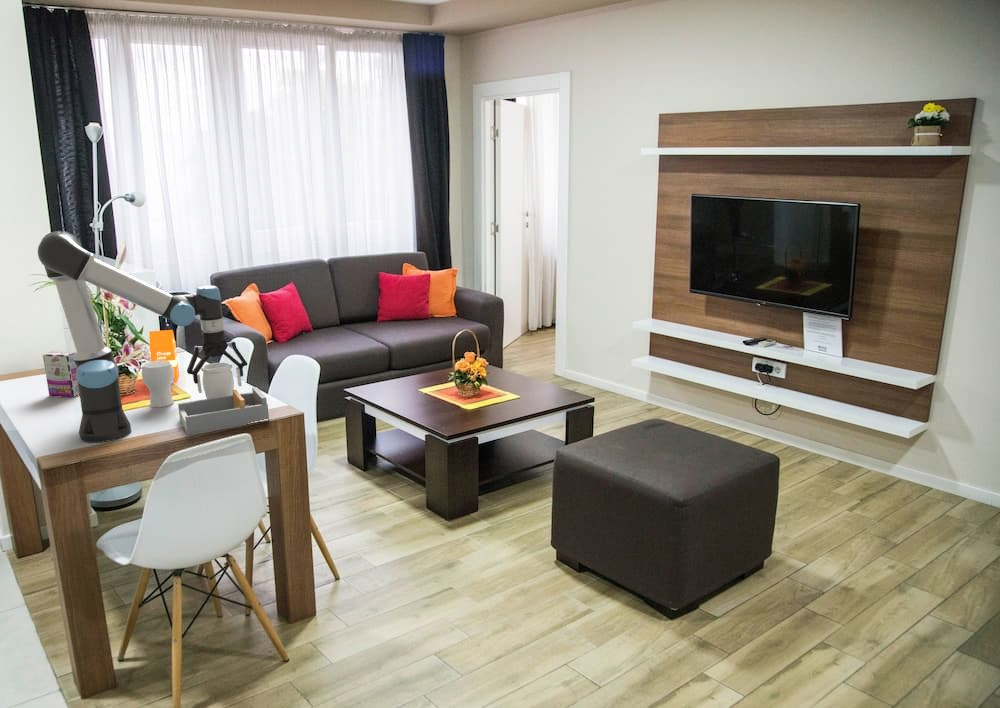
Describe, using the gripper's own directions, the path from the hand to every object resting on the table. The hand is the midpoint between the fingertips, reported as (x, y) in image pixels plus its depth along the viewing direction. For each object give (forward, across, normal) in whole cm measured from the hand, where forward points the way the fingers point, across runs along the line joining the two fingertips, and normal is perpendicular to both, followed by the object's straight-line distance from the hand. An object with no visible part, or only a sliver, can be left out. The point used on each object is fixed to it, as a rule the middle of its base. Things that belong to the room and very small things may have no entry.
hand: (220, 388), depth 288 cm
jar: (+7, 0, 0) cm, 7 cm away
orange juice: (+7, -12, +48) cm, 50 cm away
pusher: (+5, +4, -17) cm, 18 cm away
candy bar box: (+6, -48, +45) cm, 66 cm away
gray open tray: (+7, -2, -17) cm, 18 cm away
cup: (+6, -18, +14) cm, 24 cm away
